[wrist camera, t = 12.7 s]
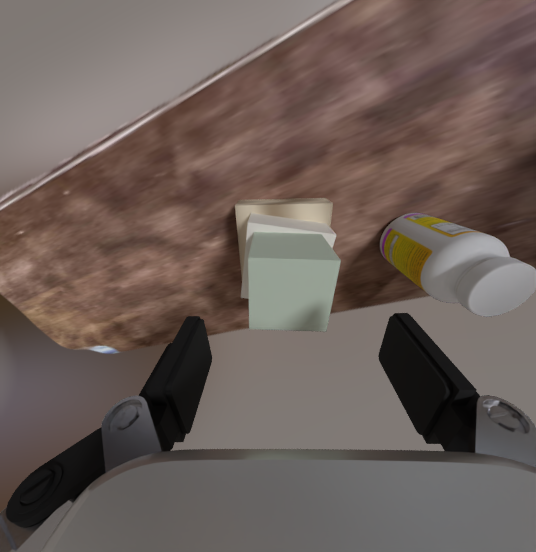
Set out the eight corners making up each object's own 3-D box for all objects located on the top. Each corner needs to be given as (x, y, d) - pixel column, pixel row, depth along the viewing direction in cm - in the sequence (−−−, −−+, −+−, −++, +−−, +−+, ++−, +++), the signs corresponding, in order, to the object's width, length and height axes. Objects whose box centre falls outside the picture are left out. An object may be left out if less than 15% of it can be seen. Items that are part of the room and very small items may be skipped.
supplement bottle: (392, 271, 29) (469, 340, 18) (368, 236, 27) (438, 289, 16) (441, 240, 27) (564, 296, 16) (419, 199, 25) (545, 229, 14)
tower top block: (326, 223, 23) (336, 234, 19) (309, 287, 26) (315, 306, 23) (251, 212, 22) (247, 222, 19) (244, 279, 26) (240, 297, 22)
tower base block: (324, 197, 25) (332, 203, 22) (317, 272, 30) (323, 287, 26) (239, 199, 26) (234, 205, 22) (245, 274, 30) (242, 288, 27)
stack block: (321, 233, 19) (340, 260, 14) (312, 290, 22) (326, 331, 17) (254, 231, 19) (248, 257, 14) (254, 289, 22) (249, 329, 17)
